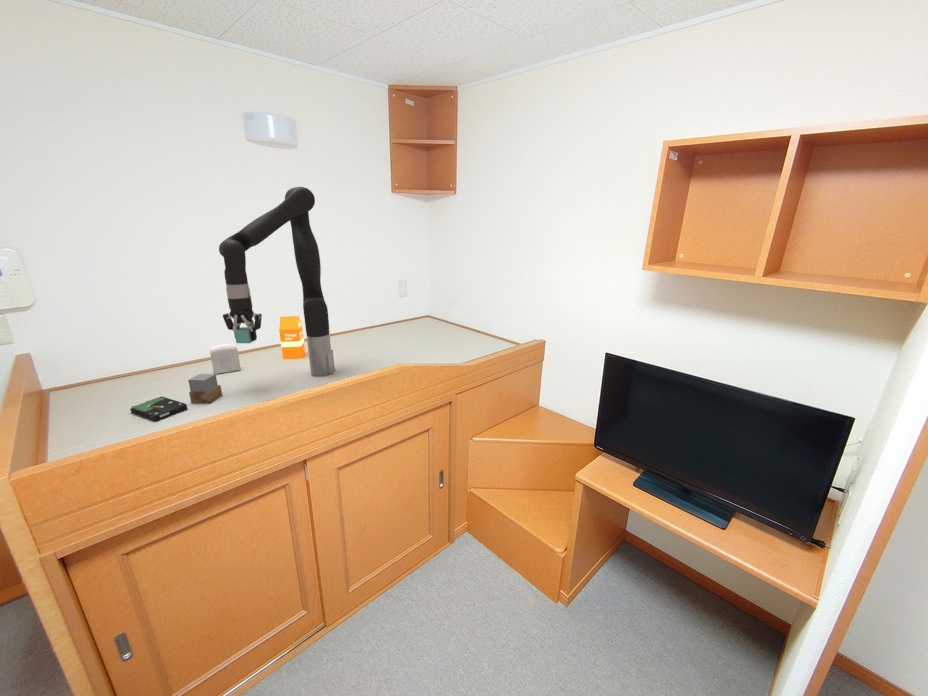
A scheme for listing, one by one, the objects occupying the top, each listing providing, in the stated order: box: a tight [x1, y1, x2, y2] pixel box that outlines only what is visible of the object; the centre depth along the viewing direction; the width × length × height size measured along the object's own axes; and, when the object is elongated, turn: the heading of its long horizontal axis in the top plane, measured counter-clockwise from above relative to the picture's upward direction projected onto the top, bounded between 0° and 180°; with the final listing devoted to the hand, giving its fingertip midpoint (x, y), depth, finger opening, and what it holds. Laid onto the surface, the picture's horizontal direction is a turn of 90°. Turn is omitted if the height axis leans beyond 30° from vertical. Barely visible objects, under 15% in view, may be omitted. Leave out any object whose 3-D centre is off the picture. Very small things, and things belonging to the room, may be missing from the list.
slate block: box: [187, 373, 219, 392], centre depth 143 cm, size 6×6×4 cm
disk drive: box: [130, 396, 188, 423], centre depth 135 cm, size 10×3×15 cm
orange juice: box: [278, 315, 306, 360], centre depth 190 cm, size 8×9×20 cm
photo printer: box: [209, 343, 241, 375], centre depth 171 cm, size 10×4×12 cm, turn 123°
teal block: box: [233, 326, 257, 344], centre depth 149 cm, size 5×5×5 cm
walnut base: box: [188, 384, 223, 404], centre depth 144 cm, size 7×7×4 cm
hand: (246, 340), depth 150 cm, fingers closed on teal block, 5 cm apart
